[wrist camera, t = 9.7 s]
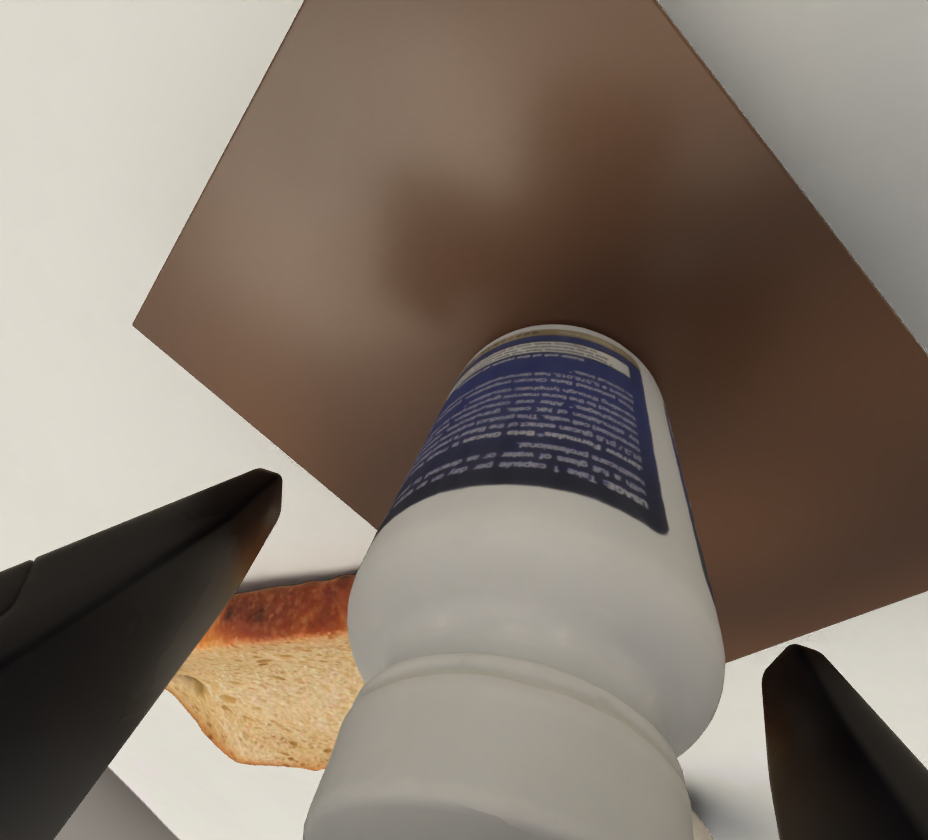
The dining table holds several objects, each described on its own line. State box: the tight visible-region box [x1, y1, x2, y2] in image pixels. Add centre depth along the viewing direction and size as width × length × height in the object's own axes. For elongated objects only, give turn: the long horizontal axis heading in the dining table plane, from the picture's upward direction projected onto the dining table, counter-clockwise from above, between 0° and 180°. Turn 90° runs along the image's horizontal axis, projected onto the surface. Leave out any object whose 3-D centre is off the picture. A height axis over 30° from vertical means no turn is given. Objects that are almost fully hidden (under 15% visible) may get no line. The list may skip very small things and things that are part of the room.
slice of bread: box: [165, 575, 365, 771], centre depth 24 cm, size 18×18×4 cm
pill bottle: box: [303, 324, 725, 840], centre depth 9 cm, size 5×5×10 cm
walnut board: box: [133, 0, 928, 663], centre depth 15 cm, size 20×14×3 cm
